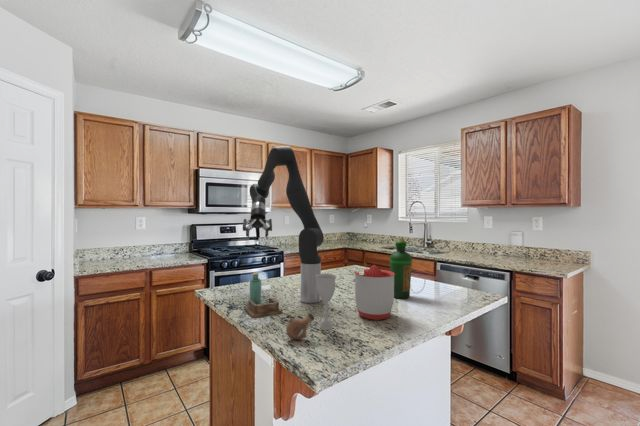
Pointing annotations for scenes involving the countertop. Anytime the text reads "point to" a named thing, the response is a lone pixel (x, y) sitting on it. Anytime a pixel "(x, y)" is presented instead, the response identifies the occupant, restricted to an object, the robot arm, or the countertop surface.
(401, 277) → the bottle
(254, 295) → the bottle
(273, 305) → the u rest
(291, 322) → the brown animal figurine
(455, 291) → the countertop surface
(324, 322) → the chalice
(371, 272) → the citrus juicer
